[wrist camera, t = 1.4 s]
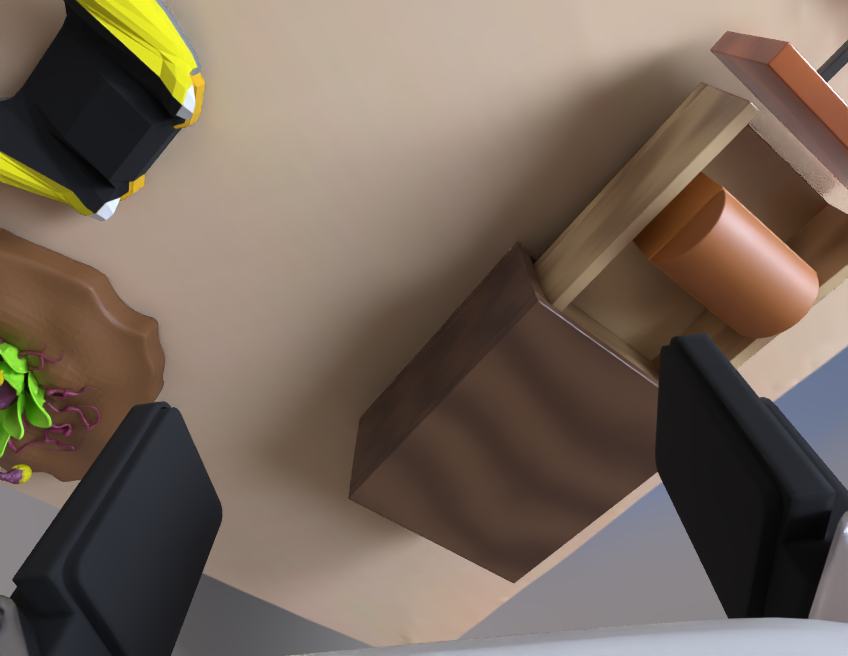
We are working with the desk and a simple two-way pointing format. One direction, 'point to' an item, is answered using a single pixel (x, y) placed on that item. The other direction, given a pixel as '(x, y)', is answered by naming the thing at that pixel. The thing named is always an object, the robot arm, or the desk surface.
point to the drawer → (732, 169)
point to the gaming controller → (101, 105)
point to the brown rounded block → (729, 260)
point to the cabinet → (507, 429)
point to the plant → (66, 362)
